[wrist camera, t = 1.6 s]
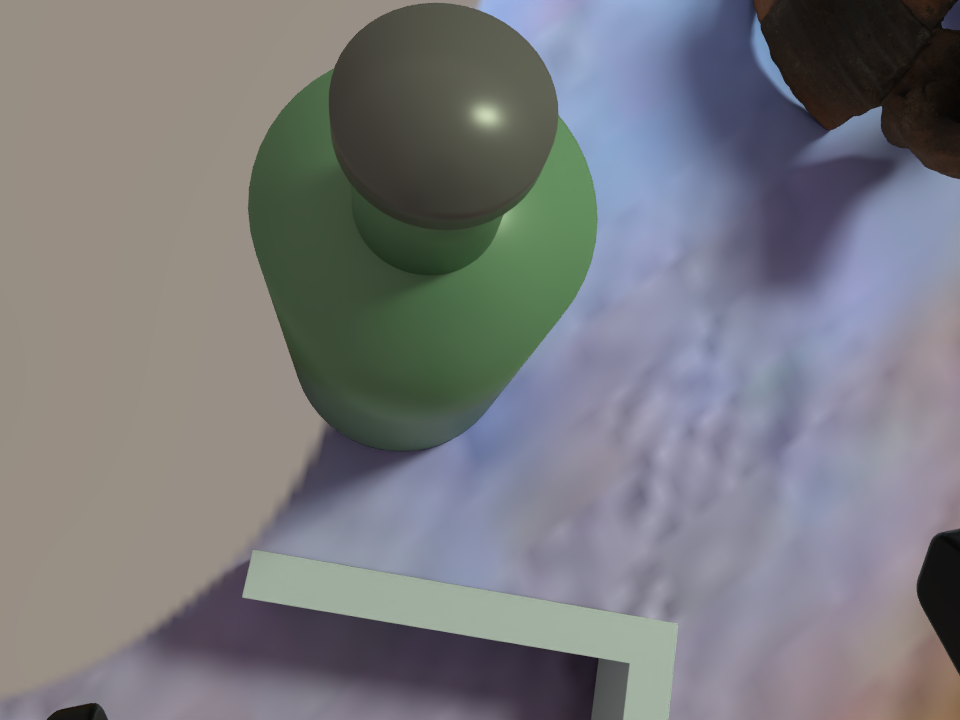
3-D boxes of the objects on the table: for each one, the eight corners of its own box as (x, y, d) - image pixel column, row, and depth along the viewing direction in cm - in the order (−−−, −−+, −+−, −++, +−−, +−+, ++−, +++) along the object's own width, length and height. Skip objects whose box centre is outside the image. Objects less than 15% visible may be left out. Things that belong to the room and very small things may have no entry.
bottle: (489, 469, 22) (632, 359, 10) (270, 429, 22) (163, 265, 10) (523, 267, 23) (682, -31, 12) (318, 224, 23) (273, -130, 11)
